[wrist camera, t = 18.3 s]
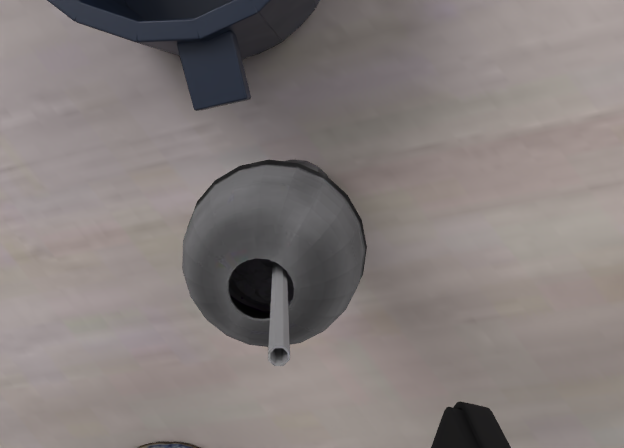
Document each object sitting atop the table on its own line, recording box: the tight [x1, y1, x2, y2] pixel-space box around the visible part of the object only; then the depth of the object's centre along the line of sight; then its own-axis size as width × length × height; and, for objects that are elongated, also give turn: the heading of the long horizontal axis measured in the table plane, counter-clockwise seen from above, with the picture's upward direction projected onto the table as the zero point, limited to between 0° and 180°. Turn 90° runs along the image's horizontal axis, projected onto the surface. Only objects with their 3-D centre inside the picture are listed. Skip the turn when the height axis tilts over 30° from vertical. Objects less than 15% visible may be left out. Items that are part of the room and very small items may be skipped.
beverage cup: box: [183, 160, 367, 366], centre depth 20 cm, size 7×7×20 cm
